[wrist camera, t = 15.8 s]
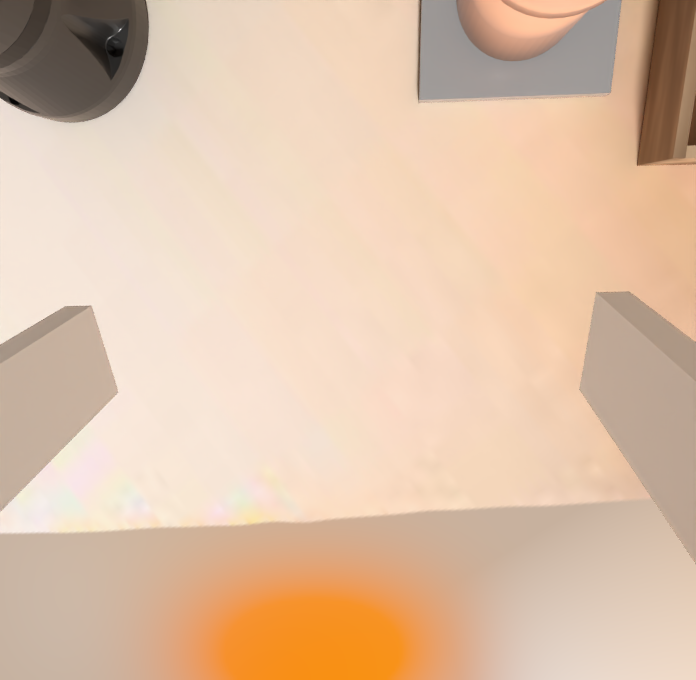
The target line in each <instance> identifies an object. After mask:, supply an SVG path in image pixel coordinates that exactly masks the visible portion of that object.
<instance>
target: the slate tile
mask: <svg viewBox="0 0 696 680" xmlns="http://www.w3.org/2000/svg"><path fill="white" fill-rule="evenodd" d="M620 9H621V0H607V1H605V2H604V3H602V4H600V5H599V6H597V7H595V8H593V9H591V10H589V11H588V12H587V13H586V14H585V15H584V16H583V17H582V18H581V19H580V20H579V21H578V22H577V23H576V24H575V25H574V27H573V28H572V29H571V30H570V31H569V32H568V33H567V34H566V35H565V36H564V37H563V38H562V39H561V40H560V41H559V42H558V43H557V44H556V45H555V46H553V47H552V48H551V49H549V50H548V51H546V52H545V53H543V54H541V55H538V56H536V57H534V58H531V59H527V60H522V61H503V60H499V59H495V58H493V57H491V56H488V55H487V54H485V53H483V52H482V51H480V50H479V49H478V48H477V47H476V46H475V45H474V44H473V43H472V42H471V41H470V40H469V38H468V37H467V35H466V34H465V32H464V30H463V28H462V26H461V23H460V20H459V16H458V11H457V2H456V0H421V32H420V75H419V103H430V102H458V101H485V100H513V99H541V98H568V97H596V96H606V95H608V94H610V93H611V85H612V77H613V68H614V60H615V51H616V43H617V34H618V26H619V17H620Z"/></svg>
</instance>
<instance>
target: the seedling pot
mask: <svg viewBox="0 0 696 680" xmlns="http://www.w3.org/2000/svg"><path fill="white" fill-rule="evenodd" d="M605 1H607V0H456V2H457V11H458V16H459V20H460V23H461V26H462V28H463V30H464V32H465V34H466V35H467V37H468V38H469V40H470V41H471V42H472V43H473V44H474V45H475V46H476V47H477V48H478V49H479V50H480V51H482V52H483V53H485V54H487V55H488V56H491V57H493V58H495V59H499V60H503V61H522V60H527V59H531V58H534V57H536V56H538V55H541V54H543V53H545V52H546V51H548V50H549V49H551V48H552V47H553V46H555V45H556V44H557V43H558V42H559V41H560V40H561V39H562V38H563V37H564V36H565V35H566V34H567V33H568V32H569V31H570V30H571V29H572V28H573V27H574V25H575V24H576V23H577V22H578V21H579V20H580V19H581V18H582V17H583V16H584V15H585V14H586V13H587V12H588V11H589V10H591V9H593V8H595V7H597V6H599V5H600V4H602V3H604V2H605Z"/></svg>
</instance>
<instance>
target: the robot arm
mask: <svg viewBox="0 0 696 680" xmlns="http://www.w3.org/2000/svg"><path fill="white" fill-rule="evenodd" d="M147 43H148V17H147V9H146V3H145V0H0V98H1V99H3V100H4V101H6V102H7V103H9V104H10V105H12V106H14V107H16V108H18V109H20V110H22V111H24V112H27V113H29V114H32V115H36V116H39V117H43V118H47V119H50V120H55V121H60V122H83V121H88V120H91V119H95V118H97V117H100V116H102V115H104V114H106V113H107V112H109V111H110V110H112V109H113V108H114V107H116V106H117V105H118V104H119V103H120V102H121V101H122V100H123V99H124V98H125V97H126V96H127V94H128V93H129V92H130V90H131V89H132V87H133V86H134V84H135V82H136V81H137V79H138V76H139V74H140V72H141V69H142V66H143V63H144V60H145V55H146V50H147ZM579 390H580V391H581V393H582V394H583V396H584V397H585V399H586V400H587V402H588V403H589V405H590V406H591V408H592V409H593V411H594V412H595V414H596V415H597V417H598V418H599V420H600V421H601V423H602V424H603V426H604V427H605V429H606V430H607V432H608V433H609V435H610V436H611V438H612V439H613V441H614V442H615V444H616V445H617V447H618V448H619V450H620V451H621V453H622V454H623V456H624V457H625V459H626V460H627V462H628V463H629V465H630V466H631V468H632V469H633V471H634V472H635V474H636V475H637V477H638V478H639V480H640V481H641V483H642V484H643V486H644V487H645V489H646V490H647V492H648V493H649V495H650V496H651V498H652V499H653V501H654V502H655V503H656V505H657V507H658V508H659V509H660V511H661V512H662V514H663V516H664V517H665V519H666V520H667V521H668V523H669V524H670V526H671V527H672V529H673V531H674V532H675V534H676V535H677V537H678V538H679V540H680V541H681V542H682V544H683V545H684V547H685V549H686V550H687V552H688V553H689V555H690V556H691V557H692V559H693V560H694V562H695V564H696V342H695V341H693V340H692V339H691V338H689V337H688V336H687V335H686V334H684V333H683V332H682V331H680V330H679V329H678V328H676V327H675V326H674V325H672V324H671V323H670V322H668V321H667V320H666V319H665V318H663V317H662V316H661V315H659V314H658V313H657V312H655V311H654V310H653V309H651V308H650V307H649V306H648V305H646V304H645V303H644V302H642V301H641V300H640V299H638V298H637V297H636V296H634V295H633V294H632V293H630V292H596V296H595V302H594V307H593V313H592V319H591V325H590V331H589V337H588V342H587V348H586V354H585V360H584V366H583V372H582V377H581V383H580V389H579ZM117 393H118V389H117V386H116V383H115V379H114V376H113V373H112V370H111V367H110V363H109V360H108V357H107V354H106V351H105V347H104V344H103V341H102V338H101V335H100V331H99V328H98V325H97V322H96V319H95V315H94V312H93V309H92V306H65V307H64V308H62V309H60V310H58V311H57V312H55V313H53V314H52V315H50V316H48V317H47V318H45V319H43V320H41V321H40V322H38V323H36V324H35V325H33V326H31V327H30V328H28V329H26V330H24V331H23V332H21V333H19V334H18V335H16V336H14V337H13V338H11V339H9V340H8V341H6V342H4V343H2V344H1V345H0V512H1V511H2V510H3V509H4V508H5V507H6V506H7V505H8V503H9V502H10V501H11V500H12V499H13V498H14V497H15V496H16V495H17V494H18V493H19V492H20V491H21V490H22V489H23V488H24V487H25V486H26V485H27V484H28V483H29V482H30V481H31V480H32V479H33V478H34V477H35V476H36V475H37V474H38V473H39V472H40V471H41V470H42V469H43V468H44V467H45V466H46V465H47V464H48V463H49V462H50V461H51V460H52V459H53V458H54V457H55V456H56V455H57V454H58V453H59V452H60V451H61V450H62V449H63V448H64V447H65V446H66V445H67V444H68V443H69V442H70V441H71V440H72V439H73V438H74V437H75V436H76V435H77V434H78V433H79V432H80V431H81V430H82V429H83V428H84V427H85V426H86V425H87V423H88V422H89V421H90V420H91V419H92V418H93V417H94V416H95V415H96V414H97V413H98V412H99V411H100V410H101V409H102V408H103V407H104V406H105V405H106V404H107V403H108V402H109V401H110V400H111V399H112V398H113V397H114V396H115V395H116V394H117Z"/></svg>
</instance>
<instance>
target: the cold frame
mask: <svg viewBox="0 0 696 680" xmlns="http://www.w3.org/2000/svg"><path fill="white" fill-rule="evenodd" d="M695 95H696V0H660V2H659V9H658V16H657V24H656V31H655V38H654V46H653V53H652V60H651V68H650V75H649V82H648V90H647V97H646V105H645V112H644V119H643V127H642V134H641V141H640V149H639V156H638V163H637V166H640V165H686V164H696V145H691V146H687V145H688V139H689V133H690V126H691V120H692V114H693V108H694V101H695Z"/></svg>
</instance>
